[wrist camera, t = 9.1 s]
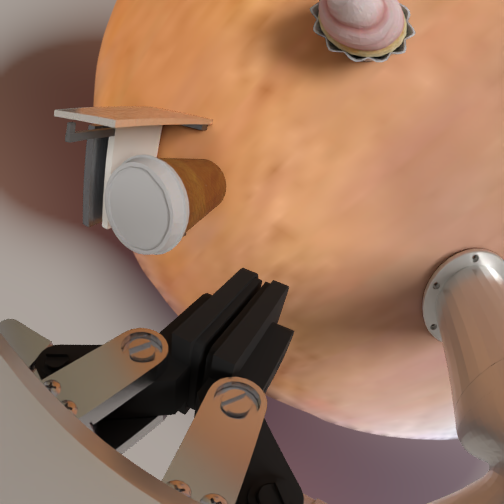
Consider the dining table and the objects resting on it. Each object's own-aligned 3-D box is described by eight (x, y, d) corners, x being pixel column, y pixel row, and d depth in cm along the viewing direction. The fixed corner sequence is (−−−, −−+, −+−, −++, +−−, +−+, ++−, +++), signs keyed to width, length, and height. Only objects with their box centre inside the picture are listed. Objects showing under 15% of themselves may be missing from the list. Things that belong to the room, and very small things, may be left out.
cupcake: (385, -8, 18) (387, -57, 10) (421, 66, 21) (443, 36, 12) (305, 10, 23) (277, -33, 14) (337, 83, 25) (322, 58, 16)
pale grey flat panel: (163, 118, 33) (71, 123, 21) (149, 211, 39) (68, 247, 27) (158, 117, 33) (66, 122, 21) (143, 209, 39) (64, 243, 27)
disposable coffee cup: (247, 215, 34) (192, 254, 24) (183, 227, 38) (119, 263, 28) (227, 136, 31) (160, 141, 21) (163, 158, 35) (91, 173, 25)
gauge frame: (212, 119, 31) (115, 120, 18) (188, 236, 38) (106, 287, 26) (150, 106, 33) (53, 109, 20) (134, 212, 41) (52, 248, 28)
